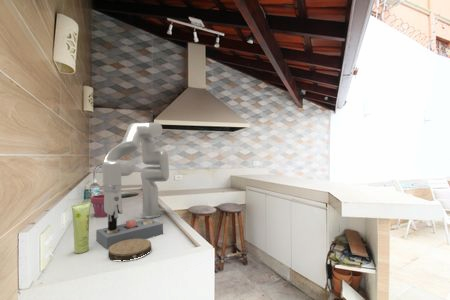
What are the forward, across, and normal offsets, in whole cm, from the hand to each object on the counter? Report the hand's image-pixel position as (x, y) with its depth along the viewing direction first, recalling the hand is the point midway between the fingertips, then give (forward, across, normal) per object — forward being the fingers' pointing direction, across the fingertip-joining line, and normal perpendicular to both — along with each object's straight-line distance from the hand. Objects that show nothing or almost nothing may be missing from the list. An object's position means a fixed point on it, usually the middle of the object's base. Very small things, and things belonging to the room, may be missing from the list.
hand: (112, 229), depth 105 cm
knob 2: (+5, 0, -17) cm, 17 cm away
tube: (+6, -1, +13) cm, 14 cm away
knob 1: (+5, 0, 0) cm, 5 cm away
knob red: (+3, 0, -8) cm, 9 cm away
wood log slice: (+6, -17, -1) cm, 18 cm away
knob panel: (+6, 0, -8) cm, 10 cm away
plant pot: (+6, +54, -13) cm, 56 cm away
